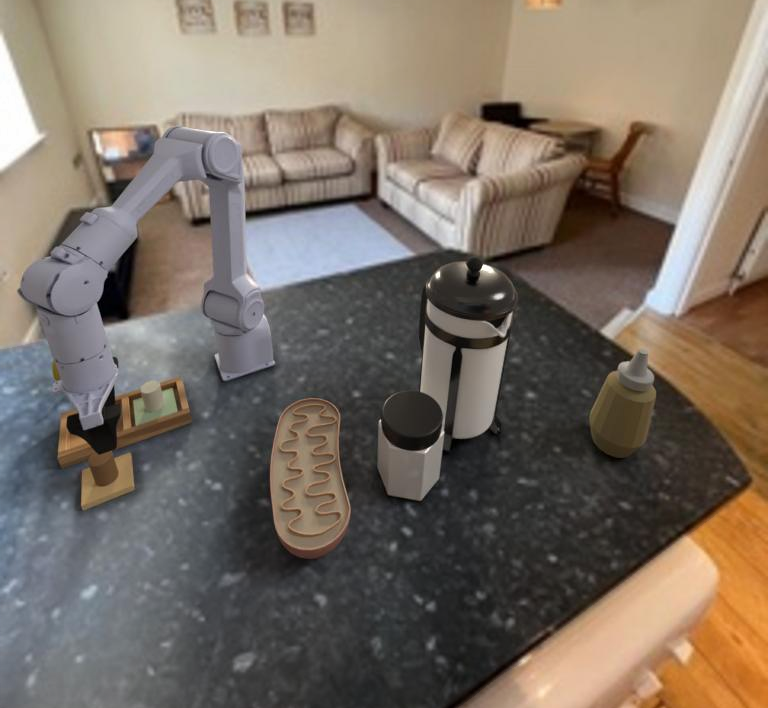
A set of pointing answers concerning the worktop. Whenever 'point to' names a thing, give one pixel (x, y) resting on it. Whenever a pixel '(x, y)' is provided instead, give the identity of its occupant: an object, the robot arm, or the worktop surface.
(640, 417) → the squeeze bottle
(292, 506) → the anatomical model
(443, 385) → the coffee press
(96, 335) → the robot arm
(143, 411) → the sage pad
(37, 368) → the worktop surface
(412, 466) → the jar
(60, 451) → the divided wooden tray
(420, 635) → the worktop surface
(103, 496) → the sand pad
